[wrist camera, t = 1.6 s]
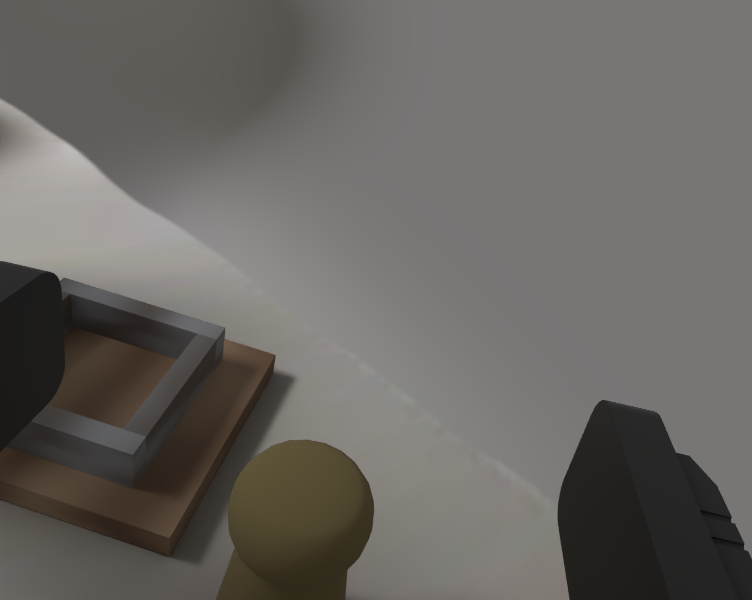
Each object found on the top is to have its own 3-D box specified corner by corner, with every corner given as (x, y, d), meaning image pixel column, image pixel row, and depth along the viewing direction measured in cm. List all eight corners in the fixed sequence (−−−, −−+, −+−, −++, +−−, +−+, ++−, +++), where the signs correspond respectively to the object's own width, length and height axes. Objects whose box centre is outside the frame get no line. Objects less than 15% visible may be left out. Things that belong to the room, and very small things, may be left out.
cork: (212, 572, 31) (228, 407, 24) (339, 577, 32) (386, 421, 25) (192, 714, 26) (206, 554, 19) (343, 715, 27) (403, 563, 21)
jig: (-136, 453, 32) (-158, 394, 30) (46, 301, 43) (40, 250, 41) (168, 556, 31) (170, 504, 28) (273, 372, 42) (280, 324, 40)
